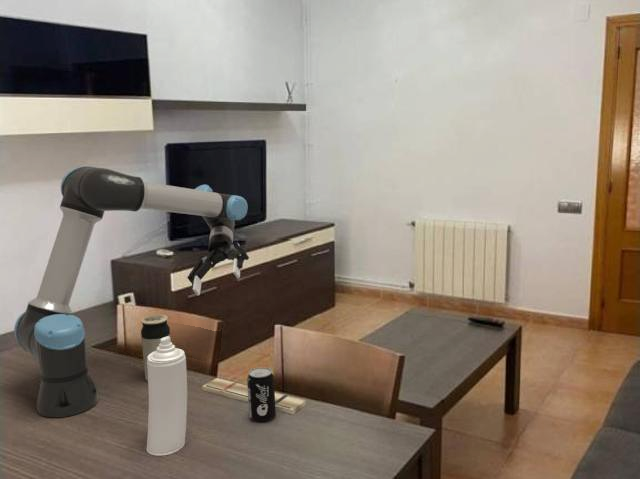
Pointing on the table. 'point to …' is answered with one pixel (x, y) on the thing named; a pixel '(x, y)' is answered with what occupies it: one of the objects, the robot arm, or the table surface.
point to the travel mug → (153, 335)
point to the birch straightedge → (241, 393)
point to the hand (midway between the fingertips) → (216, 283)
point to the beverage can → (261, 394)
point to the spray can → (166, 399)
